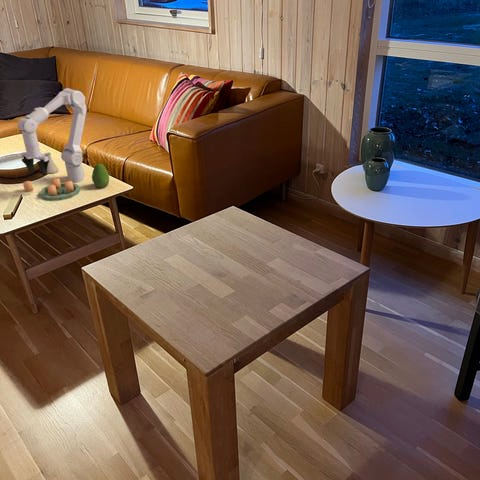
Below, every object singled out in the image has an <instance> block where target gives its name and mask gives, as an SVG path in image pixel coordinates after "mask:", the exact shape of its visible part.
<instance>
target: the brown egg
mask: <svg viewBox="0 0 480 480" xmlns="http://www.w3.org/2000/svg"><path fill="white" fill-rule="evenodd" d="M22 184H23V185H22V186H23V189H24V192H25V193H30V192H31V193H32V192H33V191H34V187H33V185H32V184H33V183H32V181H31V180H26V181H23V182H22Z"/></svg>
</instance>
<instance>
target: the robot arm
mask: <svg viewBox="0 0 480 480" xmlns="http://www.w3.org/2000/svg"><path fill="white" fill-rule="evenodd" d="M63 105H69V106H70V107H71V109H72V111H73V115H72V121H71V126H70V131H69V135H68V136H69V137H68V142H67V144H66V145H64V147H63V150H62V151H61V154H60V157H61V160H62V161H63V162H64V165H65V171H66V174H67V175H66V176H67V179H68V180H67V181H72V182H73V183H74V184H78V183H81V182H83V181H84V177H85V172H84V166H83V164H82V162H83V150H82V148H81V141H82V135H83V132H84V127H85V120H86V115H87V106H86V97H85V95H84V94H83V93H82V92H81V91H80V90H75V89H72V88H70V87H69V88H67V87H66V88H64V89H63V90H62V91H60V92H58V94H57V95H56V96H55V97H54V98H52V100H50V101H49V102H48V103H46V104H45V106H44V107H40V106H39V107H35V108H34V110H33V111H32V112H30V113H29V114H26V115H25V117H21V118H20V119H19V120H18V123H17V128H18V129H19V130H20V131H21V135H22V139H23V142H24V143H23V144H24V148H25V151H23V152H21V153H20V156H21V158H22V159H21V161H22V163H23V164H24V165H25V166H26V168H27V170H28V172H29V174H32V173H33V174H34V173H35V171H36V170H35V163H34V161H35V160H38V161H37V162H36V164H37V165H38V167H39V169H40V172H41V176H43V177H45V176H47V167H48V163H49V159H48V156H45V155H44V154H43V153H41V149H40V145H39V140H38V135H37V132H36V131H37V129H38V127H39V126H40V125H41V124H43V123H45V121H46V120H47V119H49V115H50V114H51V113H52V112H54V111H55V110H57V109H58V108H60V107H61V106H63Z"/></svg>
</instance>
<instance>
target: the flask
mask: <svg viewBox="0 0 480 480" xmlns="http://www.w3.org/2000/svg"><path fill="white" fill-rule="evenodd" d="M51 153H52V152H44V154H43V155H45V156H48V159H49V163H48V167H47V174H48V175H52V174H53V175H54V174H55V173H58V172H59V168H58V167H57V165H56V164H55V161H54V160H53V159H52V154H51Z"/></svg>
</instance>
